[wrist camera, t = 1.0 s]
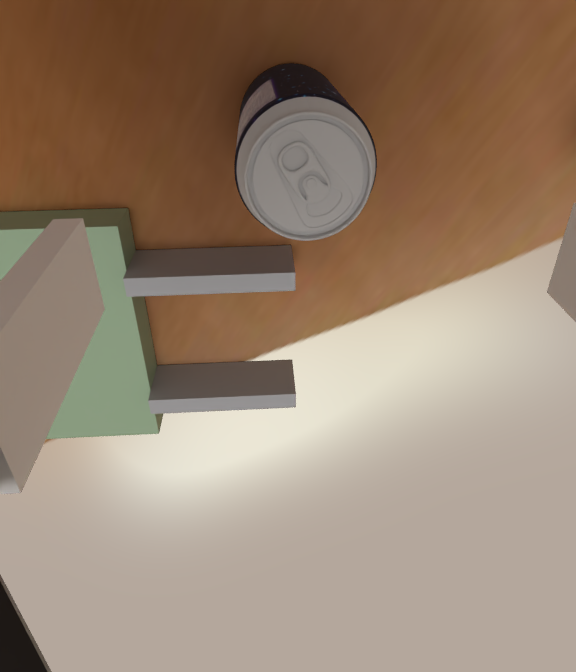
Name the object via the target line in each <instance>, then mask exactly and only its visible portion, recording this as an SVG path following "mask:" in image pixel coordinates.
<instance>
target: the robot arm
mask: <svg viewBox="0 0 576 672" xmlns="http://www.w3.org/2000/svg"><path fill="white" fill-rule="evenodd" d="M547 293H548V294H549V295H550V296H551V297H552V298H553V299H554V300H555V301H556V302H557V303H558V304H559V305H560V306H561V307H562V308H563V309H564V310H565V311H566V312H567V313H568V314H569V316H570V317H571V318H572V319H573V320H574V321H575V322H576V203H574V204H573V207H572V211H571V214H570V217H569V221H568V224H567V227H566V231H565V234H564V237H563V241H562V244H561V247H560V250H559V254H558V257H557V260H556V264H555V267H554V271H553V274H552V277H551V280H550V284H549V287H548V291H547ZM104 310H105V308H104V303H103V299H102V295H101V291H100V287H99V283H98V278H97V274H96V270H95V266H94V262H93V258H92V254H91V249H90V245H89V241H88V237H87V233H86V229H85V224H84V220H83V218H76V219H53V220H52V221H51V222H50V224H49V225H48V226H47V227H46V228H45V229H44V231H43V232H42V233H41V234H40V235H39V236H38V238H37V239H36V240H35V241H34V242H33V243H32V245H31V246H30V247H29V248H28V249H27V251H26V252H25V253H24V254H23V255H22V256H21V258H20V259H19V260H18V261H17V262H16V263H15V265H14V266H13V267H12V268H11V269H10V270H9V272H8V273H7V274H6V275H5V276H4V277H3V279H2V280H1V281H0V494H13V493H21V492H22V490H23V487H24V485H25V483H26V481H27V479H28V476H29V474H30V472H31V470H32V468H33V465H34V463H35V461H36V459H37V457H38V454H39V452H40V450H41V448H42V446H43V444H44V441H45V439H46V437H47V435H48V433H49V430H50V428H51V426H52V424H53V422H54V419H55V417H56V415H57V413H58V411H59V409H60V406H61V404H62V402H63V400H64V398H65V395H66V393H67V391H68V389H69V387H70V384H71V382H72V380H73V378H74V376H75V373H76V371H77V369H78V367H79V365H80V362H81V360H82V358H83V356H84V354H85V351H86V349H87V347H88V345H89V343H90V341H91V338H92V336H93V334H94V332H95V330H96V327H97V325H98V323H99V321H100V319H101V316H102V314H103V312H104ZM0 672H51V670H50V668H49V666H48V664H47V662H46V661H45V659H44V657H43V655H42V653H41V651H40V649H39V647H38V645H37V643H36V641H35V640H34V638H33V636H32V634H31V632H30V630H29V628H28V626H27V624H26V623H25V621H24V619H23V617H22V615H21V613H20V611H19V609H18V608H17V605H16V604H15V602H14V600H13V598H12V596H11V594H10V592H9V590H8V588H7V586H6V584H5V583H4V581H3V579H2V577H1V575H0Z"/></svg>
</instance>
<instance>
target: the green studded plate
mask: <svg viewBox="0 0 576 672" xmlns="http://www.w3.org/2000/svg"><path fill="white" fill-rule="evenodd" d="M76 218H83V220H84V224H85V229H86V233H87V237H88V241H89V245H90V249H91V254H92V258H93V262H94V266H95V270H96V274H97V278H98V283H99V287H100V291H101V295H102V299H103V303H104V308H105V310H104V312H103V314H102V316H101V319H100V321H99V323H98V325H97V327H96V330H95V332H94V334H93V336H92V338H91V341H90V343H89V345H88V347H87V349H86V351H85V354H84V356H83V358H82V360H81V362H80V365H79V367H78V369H77V371H76V373H75V376H74V378H73V380H72V382H71V384H70V387H69V389H68V391H67V393H66V395H65V398H64V400H63V402H62V404H61V406H60V409H59V411H58V413H57V415H56V417H55V419H54V422H53V424H52V426H51V428H50V430H49V433H48V435H47V437H46V439H55V438H73V437H74V438H75V437H96V436H116V435H136V434H137V435H139V434H158V433H159V431H160V426H161V422H162V417H163V413H181V412H204V411H225V410H247V409H268V408H289V407H296V392H295V383H294V374H293V364H292V360H275V361H273V360H272V361H248V362H225V363H201V364H178V365H157V362H156V357H155V351H154V346H153V340H152V335H151V330H150V324H149V319H148V313H147V308H146V303H145V297H144V296H163V295H190V294H217V293H244V292H272V291H295V268H294V261H293V255H292V248H291V245H280V246H250V247H220V248H189V249H159V250H136V248H135V243H134V238H133V232H132V227H131V221H130V216H129V210H128V208H113V209H80V210H46V211H13V212H0V281H1V280H2V279H3V277H4V276H5V275H6V274H7V273H8V272H9V270H10V269H11V268H12V267H13V266H14V265H15V263H16V262H17V261H18V260H19V259H20V258H21V256H22V255H23V254H24V253H25V252H26V251H27V249H28V248H29V247H30V246H31V245H32V243H33V242H34V241H35V240H36V239H37V238H38V236H39V235H40V234H41V233H42V232H43V231H44V229H45V228H46V227H47V226H48V225H49V224H50V222H51V221H52V220H53V219H76Z"/></svg>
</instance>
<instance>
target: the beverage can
mask: <svg viewBox="0 0 576 672" xmlns="http://www.w3.org/2000/svg"><path fill="white" fill-rule="evenodd" d="M376 168H377V158H376V150H375V145H374V142H373V139H372V136H371V134H370V132H369V130H368V128H367V126H366V125H365V123H364V122H363V120H362V119H361V118H360V117H359V115H358V114H357V113H356V112H355V111H354V110H353V108H352V107H351V106H350V105H349V104H348V103H347V102H346V100H345V99H344V98H343V97H342V96H341V95H340V93H339V92H338V91H337V90H336V89H335V88H334V86H333V85H332V84H331V83H330V82H329V81H328V80H327V78H326V77H325V76H323V75H322V74H321V73H320V72H318V71H317V70H315V69H313V68H311V67H308V66H305V65H302V64H294V63H289V64H281V65H277V66H275V67H272V68H270V69H268V70H266V71H265V72H263V73H262V74H260V75H259V76H258V77H257V78H256V79H255V80H254V81H253V82H252V84H251V85H250V86H249V88H248V89H247V91H246V93H245V95H244V98H243V101H242V104H241V109H240V117H239V127H238V136H237V146H236V155H235V180H236V185H237V188H238V192H239V194H240V197H241V199H242V201H243V203H244V204H245V206H246V208H247V209H248V210H249V212H250V213H251V214H252V215H253V216H254V217H255V218H256V219H257V220H258V221H259V222H260V223H261V224H263V225H264V226H266V227H267V228H269V229H271V230H272V231H274V232H275V233H277V234H279V235H281V236H284V237H287V238H290V239H294V240H302V241H309V240H318V239H323V238H326V237H329V236H331V235H333V234H336V233H338V232H339V231H341V230H342V229H344V228H345V227H347V226H348V225H349V224H350V223H351V222H352V221H353V220H355V218H356V217H357V216H358V215H359V213H360V212H361V211H362V209H363V207H364V206H365V204H366V202H367V199H368V197H369V195H370V193H371V190H372V187H373V184H374V181H375V176H376Z"/></svg>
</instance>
